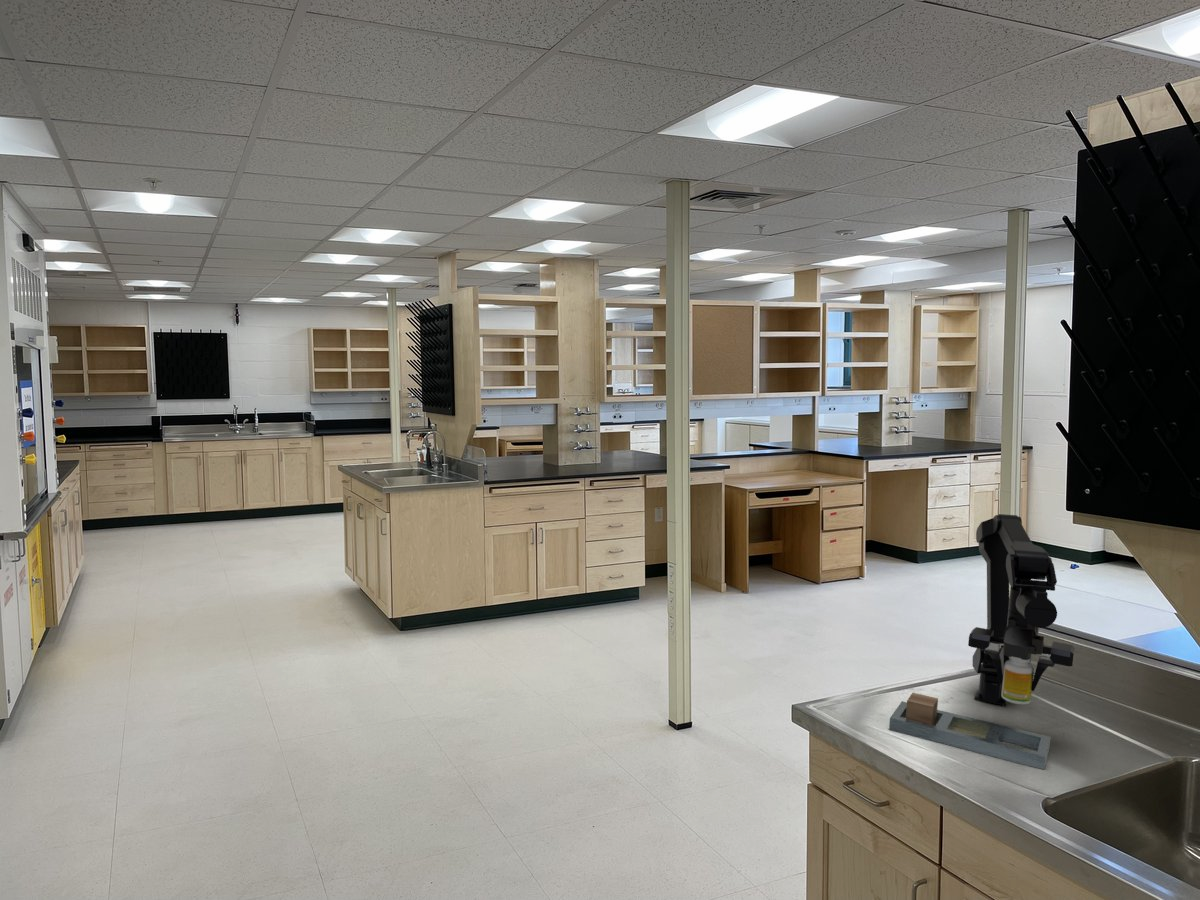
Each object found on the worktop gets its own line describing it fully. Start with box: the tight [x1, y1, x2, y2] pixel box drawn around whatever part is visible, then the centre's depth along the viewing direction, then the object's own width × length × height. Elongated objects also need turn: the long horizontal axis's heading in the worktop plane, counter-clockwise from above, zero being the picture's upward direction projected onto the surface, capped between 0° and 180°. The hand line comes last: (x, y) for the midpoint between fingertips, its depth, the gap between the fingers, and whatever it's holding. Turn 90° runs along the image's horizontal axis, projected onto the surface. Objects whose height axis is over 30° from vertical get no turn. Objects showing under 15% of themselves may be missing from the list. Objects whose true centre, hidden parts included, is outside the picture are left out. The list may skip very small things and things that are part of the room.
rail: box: [888, 700, 1052, 770], centre depth 170 cm, size 10×28×2 cm, turn 58°
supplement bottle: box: [1001, 657, 1035, 705], centre depth 173 cm, size 5×5×10 cm
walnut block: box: [906, 692, 939, 726], centre depth 175 cm, size 5×5×6 cm
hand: (1016, 687), depth 173 cm, fingers closed on supplement bottle, 5 cm apart
